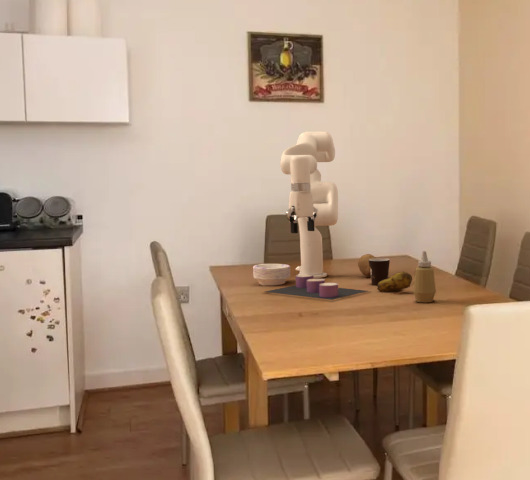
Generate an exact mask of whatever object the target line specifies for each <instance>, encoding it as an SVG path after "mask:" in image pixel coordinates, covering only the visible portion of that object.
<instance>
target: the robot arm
mask: <svg viewBox="0 0 530 480" xmlns="http://www.w3.org/2000/svg"><path fill="white" fill-rule="evenodd" d="M335 158H336V149H335V143H334V140H333V137H332V135H331V133H329V132H328V131H324V130H323V131H322V130H321V131H317V130H315V131H313V130H312V131H310V130H309V131H304V132H301V134H299V136H298V138H297V141H296V144H294V145H292V146H289V147H287V148H286V149H284V150H283V152H282V154H281V157H280V163H279V165H280V171H281V172H282V173H283V174H285V175H290V187H291V189H290V192H289V198H288V210H286V211H285V215H286V217H287V218H286V219H287V221H288V222H289V224H290V233H291V234H299V246H300V249H299V250H300V265H297V267H296V268H295V271H296V272H299V273H298V274H297V275H302V274H310V275H314V279H323V278H326V277H327V276H328V273H327V272H324V258H323V257H324V256H323V254H324V253H323V235H322V233H321V232H320V231H319V229H318V228H317V227H329V226H335V225H336V224H337V222H338V219H339V192H338V187H337V185H336V184H335V182H331V181H322V173H321V171H319V169H318V163H331V162H333V161H334V160H335Z"/></svg>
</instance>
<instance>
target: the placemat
mask: <svg viewBox="0 0 530 480" xmlns="http://www.w3.org/2000/svg"><path fill="white" fill-rule="evenodd" d="M338 292H339V296H337V297H332V298H323V297H319V293H309V292H307V288H297V287H296V284H295V285H290V286H286V287H281V288H276V289H271V290H266V291H264V293H272V294H278V295H279V294H280V295H288V296H297V297H303V298H305V297H306V298H314V299H322V300H330V301H333V300H338V299H342V298H345V297H349V296H350V297H351V296H354V295H358V294H363V293H366V292H368V290H363V289H355V288H346V287H345V288H344V287H338Z"/></svg>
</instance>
